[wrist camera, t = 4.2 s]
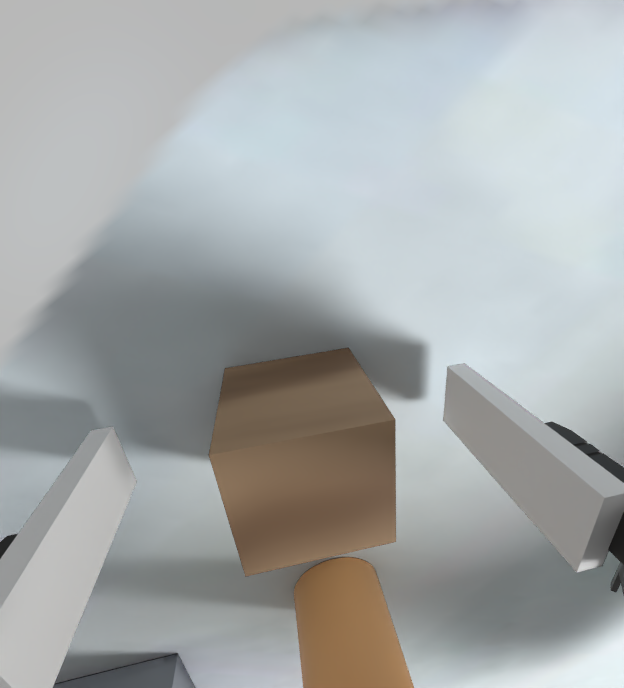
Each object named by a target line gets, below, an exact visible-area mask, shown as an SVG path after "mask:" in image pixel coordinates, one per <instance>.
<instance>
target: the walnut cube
mask: <svg viewBox="0 0 624 688" xmlns="http://www.w3.org/2000/svg"><path fill="white" fill-rule="evenodd" d="M209 458H210V461H211V464H212V468H213V471H214V474H215V477H216V481H217V484H218V487H219V491H220V494H221V497H222V501H223V504H224V507H225V510H226V514H227V517H228V520H229V524H230V527H231V530H232V534H233V537H234V540H235V544H236V547H237V550H238V553H239V557H240V560H241V563H242V567H243V570H244V573H245V577H246V576H250V575H254V574H259V573H263V572H267V571H272V570H276V569H280V568H285V567H289V566H293V565H298V564H302V563H306V562H311V561H315V560H319V559H323V558H328V557H332V556H336V555H341V554H345V553H349V552H354V551H358V550H362V549H367V548H371V547H375V546H380V545H384V544H388V543H393V542H396V471H395V418H394V417H393V415H392V414H391V412H390V411H389V409H388V408H387V406H386V404H385V403H384V401H383V400H382V398H381V397H380V395H379V394H378V392H377V391H376V389H375V388H374V386H373V385H372V383H371V381H370V380H369V378H368V377H367V375H366V374H365V372H364V371H363V369H362V368H361V366H360V365H359V363H358V362H357V360H356V358H355V357H354V355H353V354H352V352H351V351H350V349H349V348H344V349H338V350H332V351H326V352H320V353H314V354H308V355H302V356H296V357H290V358H284V359H278V360H272V361H266V362H260V363H254V364H248V365H242V366H236V367H230V368H225V371H224V376H223V382H222V387H221V392H220V398H219V403H218V409H217V414H216V419H215V425H214V430H213V435H212V441H211V446H210V451H209Z"/></svg>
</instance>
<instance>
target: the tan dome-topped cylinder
mask: <svg viewBox="0 0 624 688" xmlns="http://www.w3.org/2000/svg"><path fill="white" fill-rule="evenodd" d="M294 600H295V610H296V619H297V629H298V639H299V649H300V659H301V669H302V679H303V688H414V686H413V683H412V680H411V677H410V674H409V671H408V668H407V665H406V662H405V659H404V656H403V653H402V650H401V647H400V644H399V641H398V637H397V634H396V631H395V628H394V625H393V622H392V619H391V616H390V613H389V610H388V607H387V604H386V601H385V598H384V595H383V592H382V589H381V586H380V583H379V580H378V577H377V574H376V571H375V569H374V568H373V566H372V565H371V564H370V563H368V562H366V561H364V560H362V559H358V558H351V557H342V558H335V559H331V560H327V561H324V562H322V563H320V564H318V565H316V566H314V567H312V568H311V569H309V570H308V571H307V572H305V573H304V574H303V575H302V576H301V577H300V579H299V580H298V582H297V583H296V586H295V589H294Z"/></svg>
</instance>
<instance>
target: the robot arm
mask: <svg viewBox="0 0 624 688" xmlns="http://www.w3.org/2000/svg"><path fill="white" fill-rule="evenodd" d="M443 421H444V422H445V423H446V424H447V425H448V427H449V428H450V429H451V430H452V431H453V432H454V433H455V435H456V436H457V437H458V438H459V439H460V440H461V441H462V443H463V444H464V445H465V446H466V447H467V448H468V449H469V451H470V452H471V453H472V454H473V455H474V456H475V457H476V458H477V460H478V461H479V462H480V463H481V464H482V465H483V466H484V468H485V469H486V470H487V471H488V472H489V473H490V474H491V476H492V477H493V478H494V479H495V480H496V481H497V482H498V484H499V485H500V486H501V487H502V488H503V489H504V490H505V491H506V493H507V494H508V495H509V496H510V497H511V498H512V499H513V501H514V502H515V503H516V504H517V505H518V506H519V507H520V509H521V510H522V511H523V512H524V513H525V514H526V515H527V517H528V518H529V519H530V520H531V521H532V522H533V523H534V524H535V526H536V527H537V528H538V529H539V530H540V531H541V532H542V534H543V535H544V536H545V537H546V538H547V539H548V540H549V542H550V543H551V544H552V545H553V546H554V547H555V548H556V550H557V551H558V552H559V553H560V554H561V555H562V556H563V558H564V559H565V560H566V561H567V562H568V563H569V564H570V565H571V567H572V568H573V569H574V570H575V571H576V572H577V573H578V572H581V571H585V570H589V569H592V568H596V567H600V566H603V563H604V561H605V559H606V556H607V554H608V552H609V551H610V552H611V553H612V554H613V555H614V556H615V557H616V558H617V559H618V560H619V561H620V564H619V566H618V569H617V571H616V573H615V575H614V578H613V580H612V582H611V591H614V592H617V590H618V587H619V585H620V583H621V585H622V589H623V594H624V468H623V467H622V466H620V465H619V464H618V463H616V462H615V461H613V460H612V459H610V458H609V457H608V456H606V455H605V454H601V453H600V451H599V450H598V449H596V448H595V447H594V446H592V445H591V444H587V441H585V440H584V439H582V438H581V437H580V436H578V435H577V434H575V433H574V432H573V431H571V430H569V429H567V428H565V427H563V426H560V425H558V424H556V423H554V422H548V423H543V422H542V421H541V420H539V419H538V418H537V417H535V416H534V415H533V414H531V413H530V412H529V411H527V410H526V409H525V408H523V407H522V406H521V405H519V404H518V403H517V402H516V401H514V400H513V399H512V398H510V397H509V396H508V395H506V394H505V393H504V392H502V391H501V390H500V389H498V388H497V387H496V386H494V385H493V384H492V383H490V382H489V381H488V380H486V379H485V378H484V377H482V376H481V375H480V374H478V373H477V372H476V371H474V370H473V369H472V368H470V367H469V366H468V365H466V364H465V363H463V364H457V365H451V366H447V377H446V390H445V403H444V416H443ZM136 483H137V480H136V478H135V476H134V473H133V471H132V469H131V467H130V464H129V462H128V460H127V457H126V455H125V453H124V451H123V448H122V446H121V444H120V441H119V439H118V437H117V435H116V432H115V430H114V428H113V426H112V427H107V428H101V429H96V430H91V431H90V432H89V434H88V435H87V437H86V438H85V439H84V441H83V442H82V444H81V445H80V447H79V448H78V449H77V451H76V452H75V454H74V455H73V456H72V458H71V459H70V461H69V462H68V464H67V465H66V466H65V468H64V469H63V471H62V472H61V474H60V475H59V476H58V478H57V479H56V481H55V482H54V483H53V485H52V486H51V488H50V489H49V491H48V492H47V493H46V495H45V496H44V498H43V499H42V501H41V502H40V503H39V505H38V506H37V508H36V509H35V510H34V512H33V513H32V515H31V516H30V518H29V519H28V520H27V522H26V523H25V525H24V526H23V528H22V529H21V530H20V532H19V533H18V534H15V535H10V536H7V537H6V538H4V539H3V540H2V541H1V542H0V688H53V686H54V683H55V681H56V678H57V676H58V673H59V671H60V669H61V666H62V664H63V661H64V659H65V656H66V654H67V651H68V649H69V647H70V644H71V642H72V639H73V637H74V634H75V632H76V629H77V627H78V625H79V622H80V620H81V617H82V615H83V612H84V610H85V607H86V605H87V603H88V600H89V598H90V595H91V593H92V590H93V588H94V585H95V583H96V581H97V578H98V576H99V573H100V571H101V568H102V566H103V564H104V561H105V559H106V556H107V554H108V551H109V549H110V546H111V544H112V542H113V539H114V537H115V534H116V532H117V529H118V527H119V524H120V522H121V520H122V517H123V515H124V512H125V510H126V507H127V505H128V502H129V500H130V498H131V495H132V493H133V490H134V488H135V485H136Z"/></svg>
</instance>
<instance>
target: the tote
mask: <svg viewBox="0 0 624 688" xmlns="http://www.w3.org/2000/svg"><path fill="white" fill-rule="evenodd" d="M53 688H195V686H194V684H193V682H192V680H191V678H190V676H189V674H188V673H187V671H186V669H185V667H184V665H183V663H182V661H181V659H180V657H179V655H178V654H175V655H171V656H167V657H163V658H159V659H155V660H151V661H147V662H143V663H139V664H135V665H131V666H127V667H123V668H119V669H115V670H111V671H107V672H103V673H99V674H95V675H91V676H87V677H83V678H79V679H75V680H71V681H67V682H63V683H59V684H55V685H54V686H53Z"/></svg>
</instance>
